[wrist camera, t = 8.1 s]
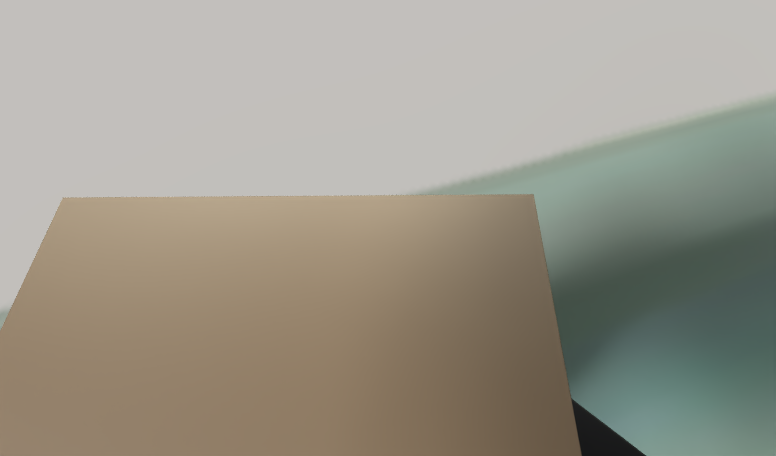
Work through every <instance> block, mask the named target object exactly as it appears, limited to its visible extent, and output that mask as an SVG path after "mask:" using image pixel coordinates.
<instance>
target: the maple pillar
mask: <svg viewBox="0 0 776 456" xmlns="http://www.w3.org/2000/svg"><path fill="white" fill-rule="evenodd" d="M0 456H582V455H581V450H580V444H579V439H578V433H577V428H576V422H575V417H574V412H573V406H572V401H571V395H570V390H569V384H568V379H567V374H566V368H565V363H564V357H563V352H562V346H561V341H560V336H559V330H558V325H557V319H556V314H555V308H554V303H553V298H552V292H551V287H550V281H549V276H548V270H547V265H546V260H545V254H544V249H543V243H542V238H541V232H540V227H539V222H538V216H537V211H536V205H535V200H534V194H518V195H376V196H237V197H236V196H234V197H103V198H102V197H99V198H98V197H94V198H93V197H92V198H63V199H62V201H61V203H60V205H59V207H58V209H57V211H56V214H55V216H54V218H53V220H52V222H51V224H50V226H49V228H48V231H47V233H46V235H45V237H44V239H43V242H42V243H41V246H40V248H39V250H38V252H37V254H36V256H35V258H34V260H33V262H32V265H31V267H30V269H29V271H28V273H27V275H26V277H25V279H24V282H23V284H22V286H21V288H20V290H19V292H18V294H17V296H16V299H15V301H14V303H13V305H12V307H11V309H10V311H9V313H8V316H7V318H6V320H5V322H4V324H3V326H2V328H1V331H0Z"/></svg>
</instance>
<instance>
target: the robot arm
mask: <svg viewBox="0 0 776 456" xmlns="http://www.w3.org/2000/svg"><path fill="white" fill-rule="evenodd" d="M571 401H572V406H573V412H574V417H575V422H576V428H577V433H578V439H579V444H580V450H581V455H582V456H646V455H645V454H643V453H642V452H641V451H639V450H638V449H637V448H635V447H634V446H633V445H631V444H630V443H629V442H628V441H626V440H625V439H624V438H622V437H621V436H620V435H618V434H617V433H616V432H614V431H613V430H612V429H611V428H609V427H608V426H607V425H605V424H604V423H603V422H601V421H600V420H599V419H598V418H596V417H595V416H594V415H592V414H591V413H590V412H588V411H587V410H586V409H584V408H583V407H582V406H581V405H579V404H578V403H577V402H575V401H574V400H573V399H571Z"/></svg>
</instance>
